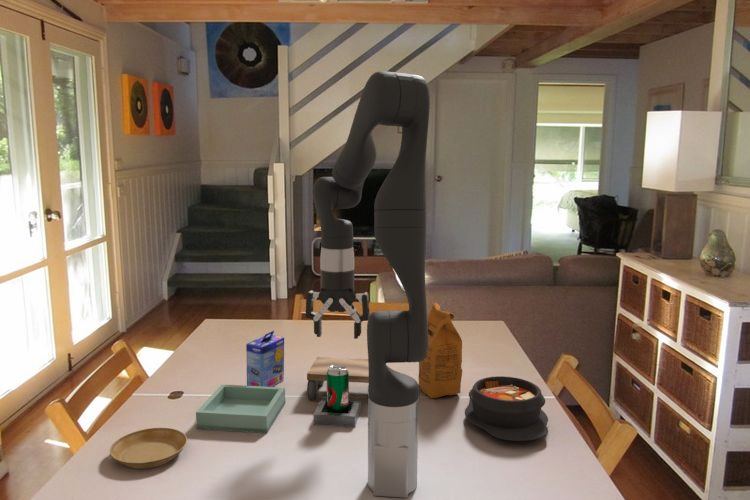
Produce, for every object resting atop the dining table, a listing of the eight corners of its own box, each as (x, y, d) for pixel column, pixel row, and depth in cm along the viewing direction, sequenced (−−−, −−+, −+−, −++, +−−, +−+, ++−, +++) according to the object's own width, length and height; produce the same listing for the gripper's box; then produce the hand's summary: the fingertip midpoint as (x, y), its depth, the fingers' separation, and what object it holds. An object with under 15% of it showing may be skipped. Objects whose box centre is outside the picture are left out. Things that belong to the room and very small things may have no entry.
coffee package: (449, 379, 168) (451, 300, 164) (465, 397, 156) (467, 312, 152) (413, 382, 166) (414, 301, 162) (426, 401, 154) (428, 314, 150)
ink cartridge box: (262, 393, 158) (261, 338, 156) (245, 389, 161) (243, 334, 158) (285, 380, 167) (284, 327, 165) (269, 376, 170) (267, 324, 167)
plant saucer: (200, 456, 127) (200, 444, 127) (128, 483, 117) (127, 470, 117) (168, 432, 138) (167, 421, 137) (99, 454, 128) (98, 442, 127)
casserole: (453, 401, 154) (453, 369, 152) (526, 398, 156) (527, 366, 154) (480, 451, 129) (481, 413, 128) (566, 447, 131) (569, 409, 130)
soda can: (345, 422, 142) (345, 372, 140) (324, 420, 143) (323, 370, 141) (351, 413, 147) (351, 364, 145) (330, 411, 148) (329, 363, 146)
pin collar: (355, 427, 140) (355, 416, 139) (313, 424, 141) (313, 414, 140) (360, 409, 149) (360, 399, 149) (321, 407, 150) (321, 397, 150)
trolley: (379, 406, 151) (379, 379, 149) (306, 402, 153) (305, 375, 151) (385, 383, 165) (385, 358, 163) (318, 380, 167) (317, 355, 165)
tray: (266, 433, 137) (266, 416, 136) (196, 429, 138) (195, 412, 138) (285, 403, 152) (285, 387, 152) (222, 399, 154) (221, 384, 153)
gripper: (302, 269, 136) (303, 340, 139) (367, 271, 134) (366, 343, 137) (309, 262, 143) (310, 330, 146) (371, 264, 142) (371, 333, 144)
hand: (337, 336), depth 142 cm, fingers open, 8 cm apart
